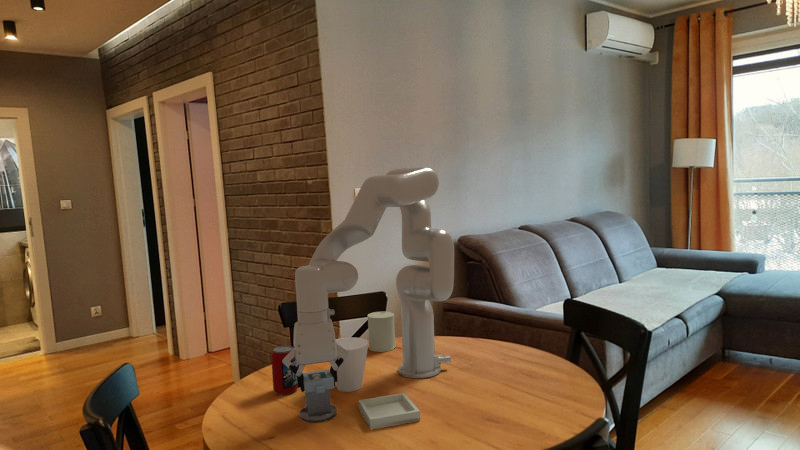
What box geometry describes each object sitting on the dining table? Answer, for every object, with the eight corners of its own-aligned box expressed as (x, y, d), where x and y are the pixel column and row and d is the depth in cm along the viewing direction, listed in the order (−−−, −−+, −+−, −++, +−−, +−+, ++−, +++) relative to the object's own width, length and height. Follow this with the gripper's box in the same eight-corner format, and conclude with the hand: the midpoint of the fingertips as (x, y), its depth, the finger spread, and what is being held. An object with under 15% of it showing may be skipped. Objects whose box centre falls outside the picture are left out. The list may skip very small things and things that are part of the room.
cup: (377, 381, 157) (375, 338, 156) (360, 397, 146) (358, 351, 145) (339, 377, 161) (337, 336, 160) (320, 393, 150) (318, 348, 149)
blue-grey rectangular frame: (329, 378, 140) (328, 369, 140) (335, 390, 132) (335, 380, 132) (301, 382, 138) (300, 373, 138) (306, 395, 130) (305, 385, 130)
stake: (333, 404, 142) (331, 366, 141) (340, 418, 133) (337, 378, 133) (297, 410, 139) (295, 371, 138) (302, 425, 131) (300, 384, 130)
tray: (404, 402, 142) (404, 392, 142) (420, 420, 130) (419, 410, 130) (359, 409, 138) (358, 400, 138) (370, 429, 127) (370, 419, 127)
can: (398, 344, 192) (397, 310, 191) (392, 352, 183) (390, 316, 182) (373, 343, 194) (371, 309, 193) (365, 351, 185) (363, 316, 184)
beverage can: (292, 396, 149) (290, 352, 148) (269, 395, 150) (266, 352, 149) (302, 387, 155) (299, 345, 154) (279, 386, 157) (277, 344, 156)
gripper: (345, 309, 140) (349, 377, 142) (275, 317, 135) (280, 387, 137) (351, 315, 133) (355, 387, 135) (278, 324, 128) (283, 398, 130)
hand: (317, 386), depth 136 cm, fingers closed on blue-grey rectangular frame, 7 cm apart
